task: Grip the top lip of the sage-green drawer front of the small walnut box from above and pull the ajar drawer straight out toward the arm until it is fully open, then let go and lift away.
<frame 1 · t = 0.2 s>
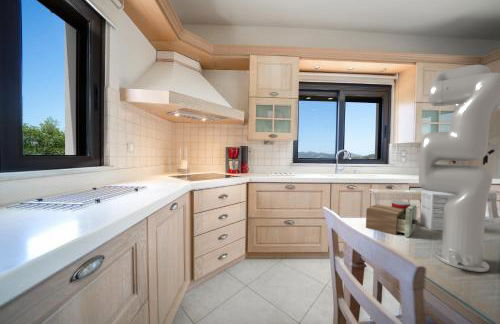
hand: (468, 164, 100), 31 cm above the table, tool pointing down, fingers open, 9 cm apart
drawer: (398, 217, 98), point 6 cm above the table, slide at 3.0 cm
canned food: (399, 224, 109), on the table
cabinet: (384, 227, 103), on the table
supplement box: (435, 227, 104), on the table
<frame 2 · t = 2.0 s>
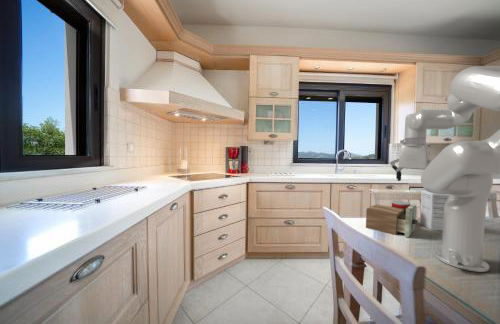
hand: (412, 181, 95), 23 cm above the table, tool pointing down, fingers open, 9 cm apart
nothing on the table moved.
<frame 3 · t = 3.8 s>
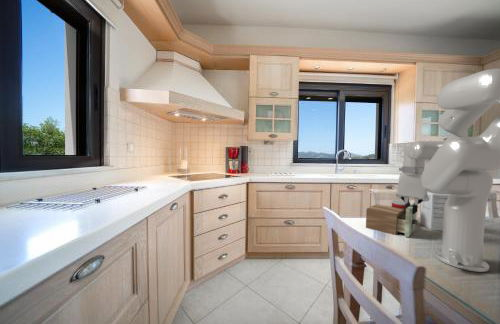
hand: (411, 212, 95), 9 cm above the table, tool pointing down, fingers closed
drawer: (398, 217, 98), point 6 cm above the table, slide at 3.0 cm, touching gripper
everything else where it was.
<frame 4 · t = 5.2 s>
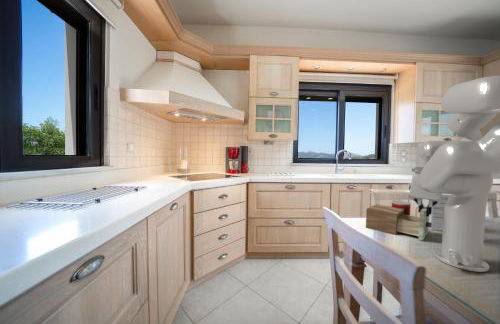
hand: (424, 214, 92), 9 cm above the table, tool pointing down, fingers closed
drawer: (411, 219, 95), point 6 cm above the table, slide at 7.7 cm, touching gripper
everything else where it was.
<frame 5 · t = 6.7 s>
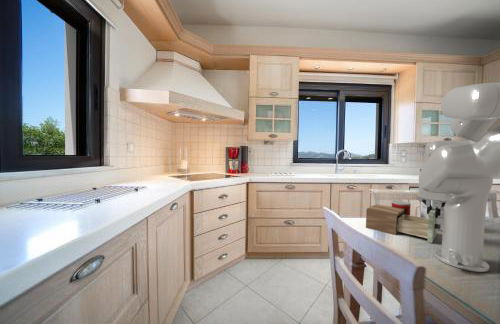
hand: (433, 216, 90), 9 cm above the table, tool pointing down, fingers closed
drawer: (419, 221, 93), point 6 cm above the table, slide at 10.5 cm, touching gripper
everything else where it was.
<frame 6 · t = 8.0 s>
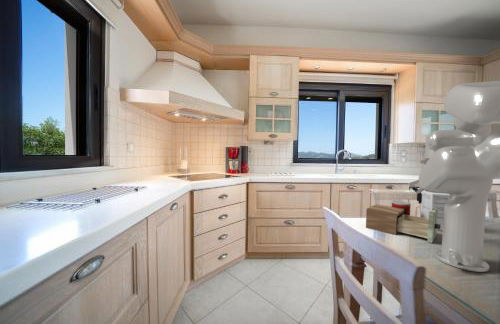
hand: (434, 205, 89), 14 cm above the table, tool pointing down, fingers open, 9 cm apart
drawer: (419, 221, 93), point 6 cm above the table, slide at 10.5 cm
everything else where it was.
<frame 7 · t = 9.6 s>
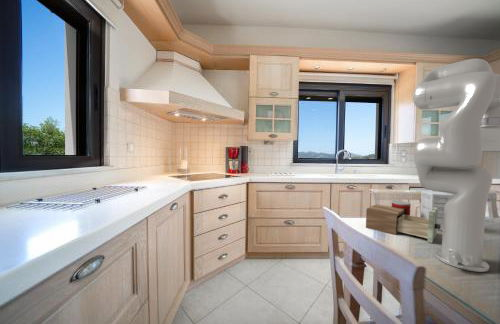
hand: (486, 166, 86), 30 cm above the table, tool pointing down, fingers open, 9 cm apart
nothing on the table moved.
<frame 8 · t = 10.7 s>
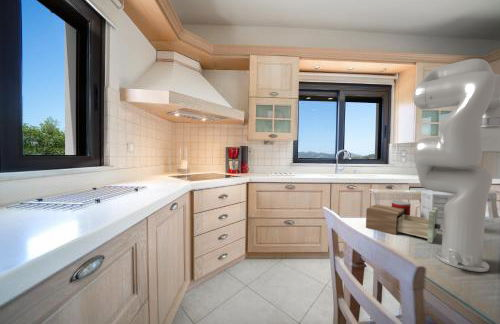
hand: (486, 167, 86), 30 cm above the table, tool pointing down, fingers open, 9 cm apart
nothing on the table moved.
at the end: drawer slide at 10.5 cm; the gripper is holding nothing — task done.
